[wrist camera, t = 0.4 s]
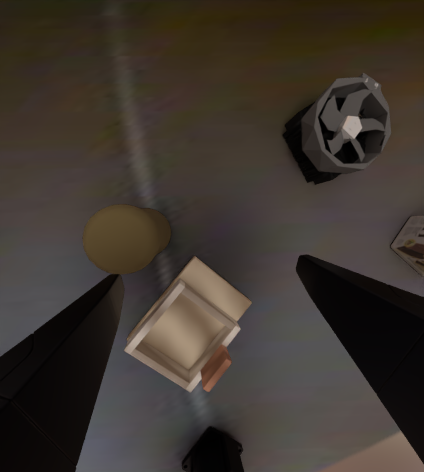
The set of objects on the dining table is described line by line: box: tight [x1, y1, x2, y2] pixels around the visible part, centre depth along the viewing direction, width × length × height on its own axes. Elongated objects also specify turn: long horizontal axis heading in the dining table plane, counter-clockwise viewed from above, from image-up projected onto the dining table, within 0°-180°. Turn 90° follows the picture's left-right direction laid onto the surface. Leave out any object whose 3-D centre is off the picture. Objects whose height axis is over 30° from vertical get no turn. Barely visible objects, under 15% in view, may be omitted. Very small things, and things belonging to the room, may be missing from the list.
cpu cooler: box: [283, 73, 391, 185], centre depth 24 cm, size 10×6×10 cm
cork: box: [83, 204, 171, 274], centre depth 18 cm, size 6×6×11 cm
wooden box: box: [124, 256, 252, 392], centre depth 22 cm, size 13×10×6 cm
